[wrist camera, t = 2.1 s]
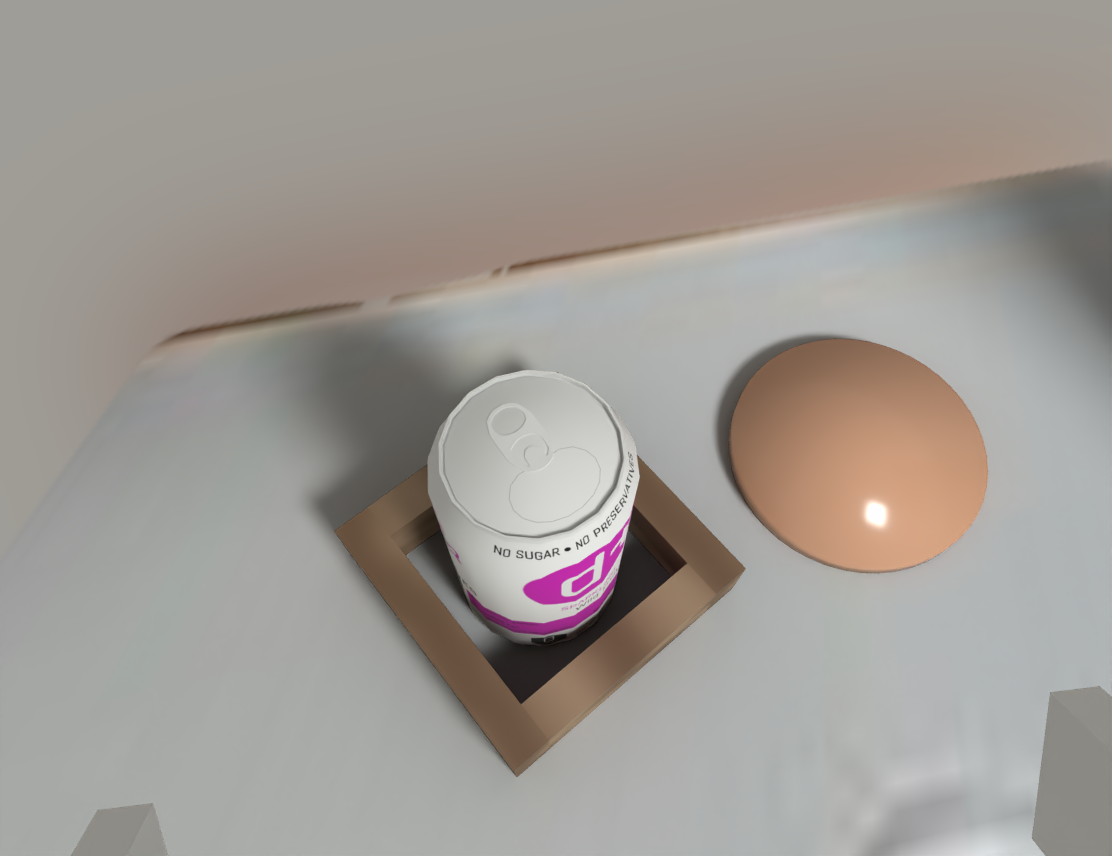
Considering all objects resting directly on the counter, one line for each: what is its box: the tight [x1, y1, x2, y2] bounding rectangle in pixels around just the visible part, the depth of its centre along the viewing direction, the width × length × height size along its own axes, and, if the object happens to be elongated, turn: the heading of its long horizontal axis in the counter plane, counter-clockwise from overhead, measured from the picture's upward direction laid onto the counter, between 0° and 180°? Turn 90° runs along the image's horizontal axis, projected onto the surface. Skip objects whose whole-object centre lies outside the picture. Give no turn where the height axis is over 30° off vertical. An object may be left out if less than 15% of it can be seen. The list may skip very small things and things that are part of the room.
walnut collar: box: [335, 372, 746, 777], centre depth 43 cm, size 14×14×4 cm
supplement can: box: [428, 370, 640, 646], centre depth 38 cm, size 8×8×15 cm
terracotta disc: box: [729, 339, 988, 573], centre depth 47 cm, size 14×14×1 cm
